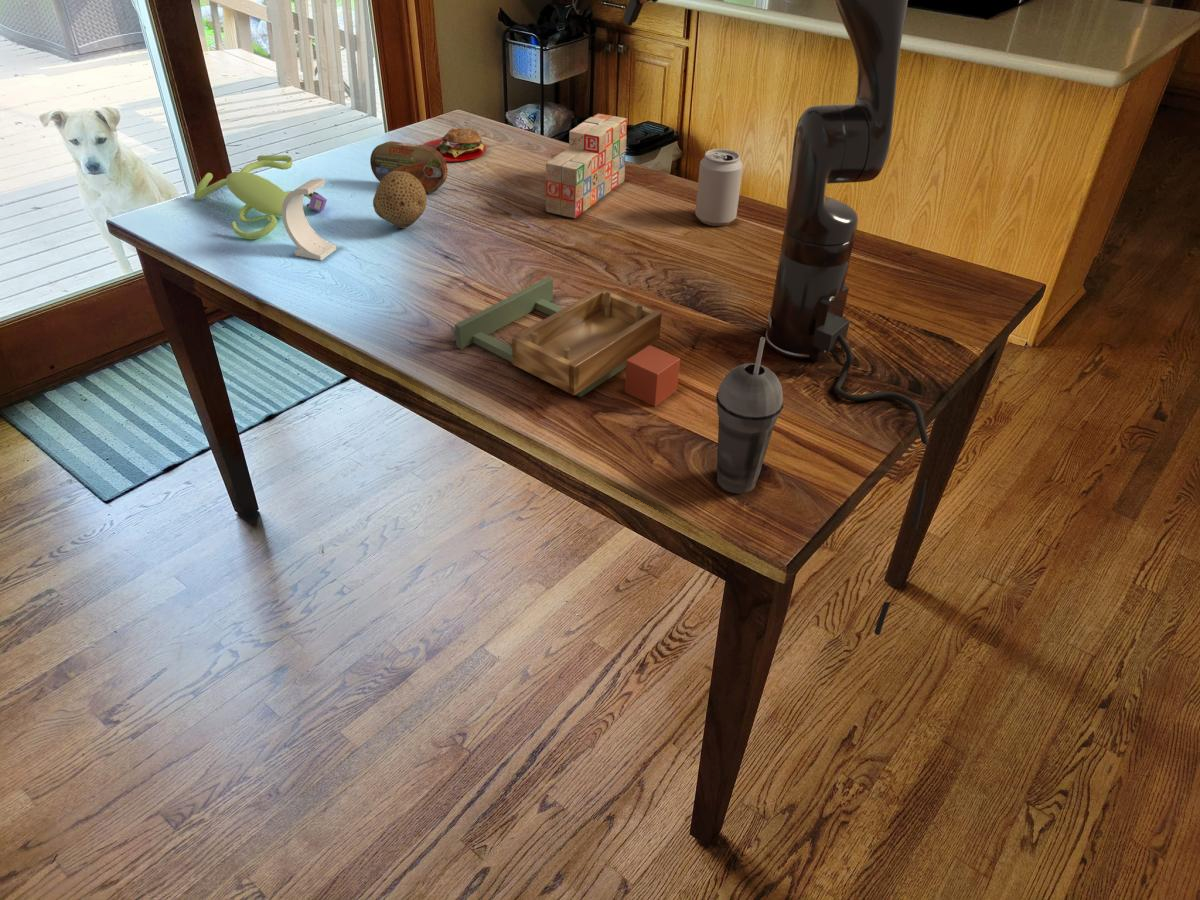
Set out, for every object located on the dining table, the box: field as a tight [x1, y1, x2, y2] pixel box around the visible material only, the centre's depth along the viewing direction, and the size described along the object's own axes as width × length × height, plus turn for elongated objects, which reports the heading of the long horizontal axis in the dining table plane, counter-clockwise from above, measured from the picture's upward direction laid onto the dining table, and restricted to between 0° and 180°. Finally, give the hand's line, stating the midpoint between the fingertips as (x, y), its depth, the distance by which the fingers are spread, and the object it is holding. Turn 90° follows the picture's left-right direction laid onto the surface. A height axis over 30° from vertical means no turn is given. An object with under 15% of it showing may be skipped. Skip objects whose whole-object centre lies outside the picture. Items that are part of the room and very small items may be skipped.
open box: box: [510, 287, 663, 396], centre depth 118 cm, size 11×18×5 cm, turn 140°
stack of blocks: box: [544, 113, 628, 219], centre depth 162 cm, size 21×6×12 cm, turn 154°
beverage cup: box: [715, 336, 784, 494], centre depth 95 cm, size 7×7×20 cm
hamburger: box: [422, 127, 487, 162], centre depth 181 cm, size 14×14×6 cm
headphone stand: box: [281, 178, 338, 261], centre depth 141 cm, size 5×6×12 cm
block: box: [624, 345, 681, 407], centre depth 114 cm, size 5×5×5 cm
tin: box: [369, 140, 448, 194], centre depth 164 cm, size 15×3×8 cm, turn 73°
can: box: [694, 148, 744, 227], centre depth 155 cm, size 8×8×12 cm
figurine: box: [193, 154, 328, 241], centre depth 156 cm, size 18×27×6 cm
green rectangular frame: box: [454, 276, 626, 398], centre depth 122 cm, size 21×19×4 cm
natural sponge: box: [372, 171, 427, 229], centre depth 149 cm, size 9×9×10 cm
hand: (602, 17), depth 132 cm, fingers open, 8 cm apart
